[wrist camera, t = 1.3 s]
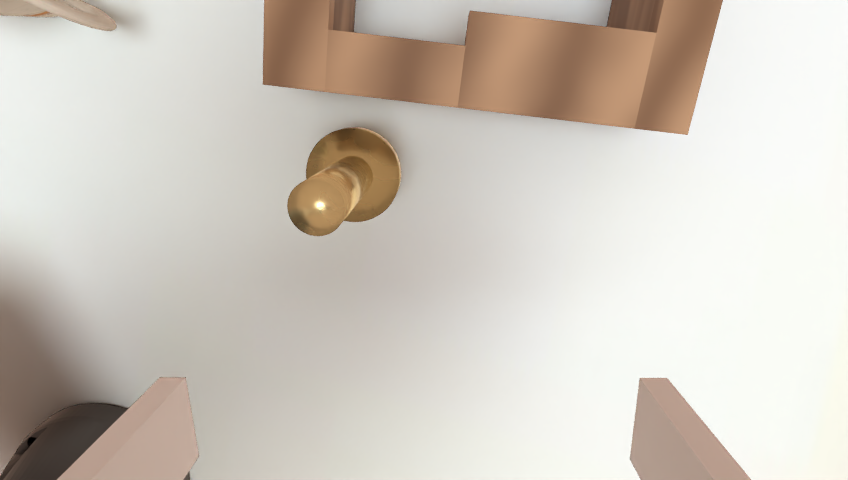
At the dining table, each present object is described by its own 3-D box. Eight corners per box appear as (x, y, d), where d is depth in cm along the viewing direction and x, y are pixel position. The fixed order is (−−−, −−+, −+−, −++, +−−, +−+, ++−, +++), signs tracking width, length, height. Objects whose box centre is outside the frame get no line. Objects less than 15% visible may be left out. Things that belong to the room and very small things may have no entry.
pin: (326, 197, 38) (249, 262, 23) (331, 119, 36) (250, 132, 21) (402, 206, 38) (376, 277, 23) (410, 128, 36) (388, 149, 21)
